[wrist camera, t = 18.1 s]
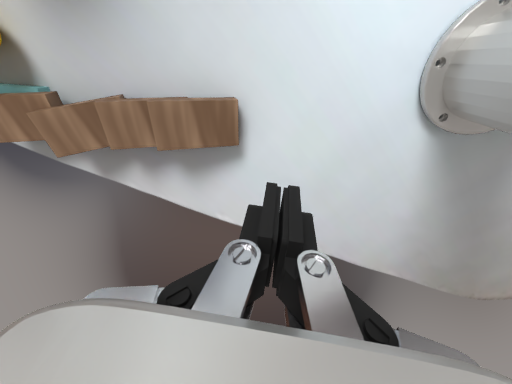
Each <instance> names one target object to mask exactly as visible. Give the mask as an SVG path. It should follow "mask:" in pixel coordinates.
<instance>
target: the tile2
mask: <svg viewBox="0 0 512 384" xmlns="http://www.w3.org/2000/svg"><path fill="white" fill-rule="evenodd" d="M168 98H187V97H168ZM149 99H156V98H131V99H101V100H98V101H96V102H94V104H95V107H96V110H97V112H98V115H99V118H100V121H101V123H102V126H103V129H104V132H105V134H106V137H107V140H108V143H109V145H110V148H111V150H114V149H129V148H143V147H157V146H156V142H155V137H154V133H153V128H152V124H151V119H150V115H149V110H148V106H147V101H148V100H149Z"/></svg>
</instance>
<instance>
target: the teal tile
mask: <svg viewBox="0 0 512 384" xmlns="http://www.w3.org/2000/svg"><path fill="white" fill-rule="evenodd" d="M26 92H50V89H49V87H42V86H29V85H16V84H4V83H0V93H26Z"/></svg>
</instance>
